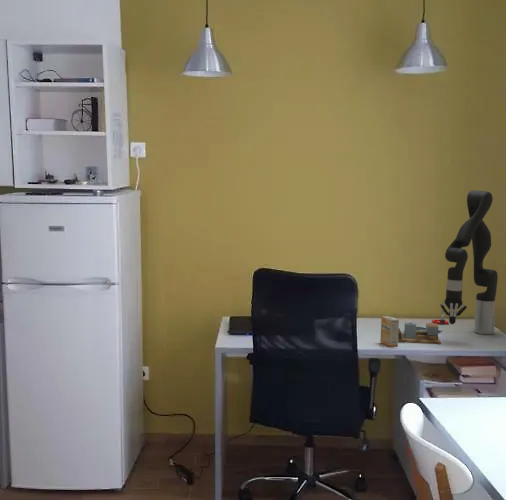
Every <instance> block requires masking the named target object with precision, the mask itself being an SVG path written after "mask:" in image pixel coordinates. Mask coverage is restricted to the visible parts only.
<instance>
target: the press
mask: <svg viewBox="0 0 506 500" xmlns="http://www.w3.org/2000/svg"><path fill="white" fill-rule="evenodd" d="M398 343H406V344H407V343H408V344H409V343H411V344H412V343H413V344H428V343H429V344H430V345H431V344H432V345H433V344H434V345H441V343H442V342H441V339H440V338H439V335H438V336H426V331H417V330H416V339H413V338H405V337H404V333H402V330H401V329H400V328H398Z"/></svg>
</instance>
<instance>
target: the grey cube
mask: <svg viewBox="0 0 506 500" xmlns="http://www.w3.org/2000/svg"><path fill="white" fill-rule="evenodd" d="M425 332H426V336H438V337H439V324H436V323H433V322H431V323H430V322H426V323H425Z"/></svg>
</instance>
